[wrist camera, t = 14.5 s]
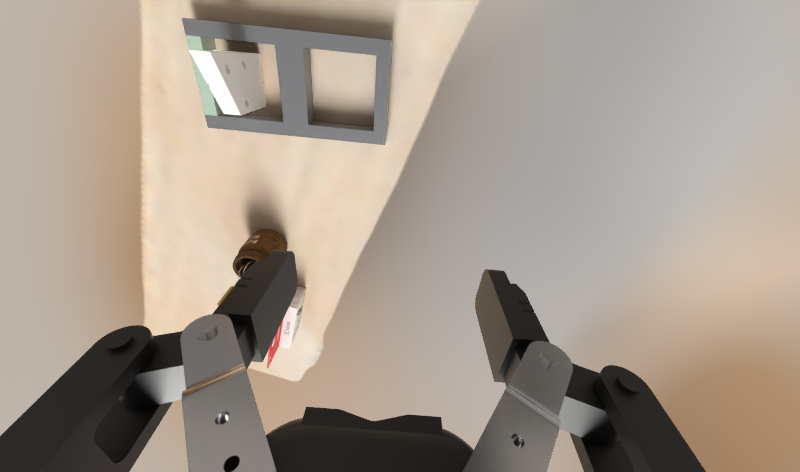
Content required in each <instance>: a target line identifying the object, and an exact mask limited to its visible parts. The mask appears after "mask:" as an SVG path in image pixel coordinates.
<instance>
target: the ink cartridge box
mask: <svg viewBox="0 0 800 472" xmlns="http://www.w3.org/2000/svg"><path fill="white" fill-rule="evenodd" d="M305 291H306V288H304V287H299V286H297V290H296V293H295V296H294V298H293V300H292V302H291V304H290V306H289V308H288V310H287V312H286V315H285V317H284V319H283V321H282V323H281V325H280V327H279V329H278V331H277V333H276V335H275V339H273V340H274V345H273V347H272V343H273V341H272V343H271V345H270V348H269V353H268V362H267V368H268V367H269V365H270V363H271V361H272V359H273V357H274V355H275V353H276V350H277V348H278V347H279V346H280V347H285V348H289V349H290V348H291V345H292V342H293V340H294V337H295V335H296V332H297V330H298V327H299V322H300V317H301V312H302V307H303V302H304V296H305Z"/></svg>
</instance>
